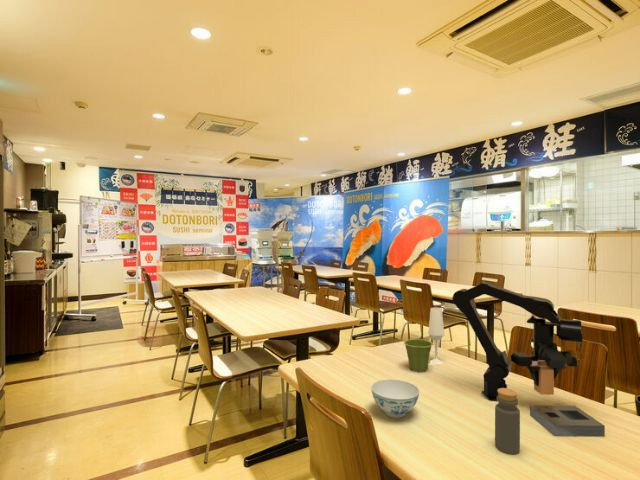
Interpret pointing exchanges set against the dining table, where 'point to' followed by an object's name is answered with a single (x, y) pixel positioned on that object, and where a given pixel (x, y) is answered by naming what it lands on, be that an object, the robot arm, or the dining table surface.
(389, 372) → the dining table surface
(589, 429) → the socket plate
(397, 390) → the chinaware
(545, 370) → the peg
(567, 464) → the dining table surface
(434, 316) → the champagne flute
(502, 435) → the bottle
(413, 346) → the plant pot
